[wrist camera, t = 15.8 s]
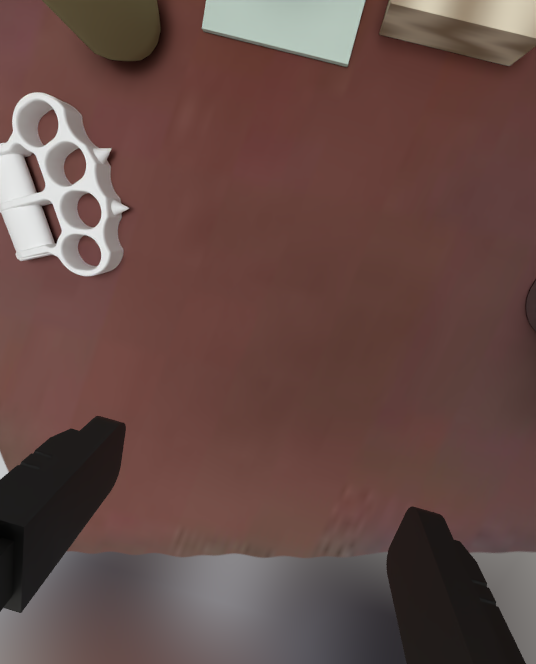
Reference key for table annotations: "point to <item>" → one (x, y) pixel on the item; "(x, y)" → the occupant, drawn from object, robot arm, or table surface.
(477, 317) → the table surface
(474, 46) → the eye block
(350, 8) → the sage mat
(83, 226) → the white brass knuckles
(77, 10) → the squeeze bottle
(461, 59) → the table surface
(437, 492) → the table surface
